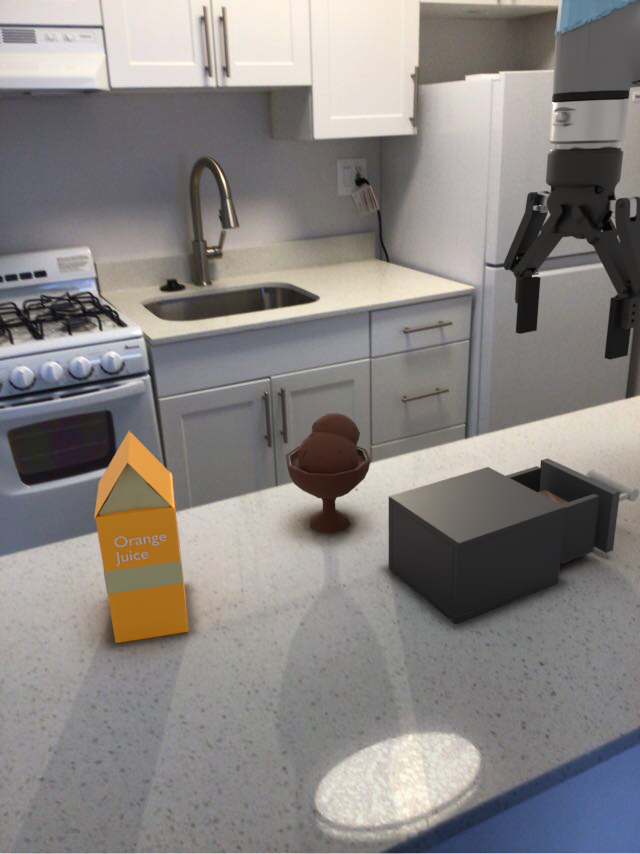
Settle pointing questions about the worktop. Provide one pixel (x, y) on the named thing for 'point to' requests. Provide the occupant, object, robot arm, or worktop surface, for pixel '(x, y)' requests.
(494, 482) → the dark grey cuboid
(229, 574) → the worktop surface
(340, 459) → the ice cream bowl
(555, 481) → the dark grey drawer
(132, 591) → the orange juice
